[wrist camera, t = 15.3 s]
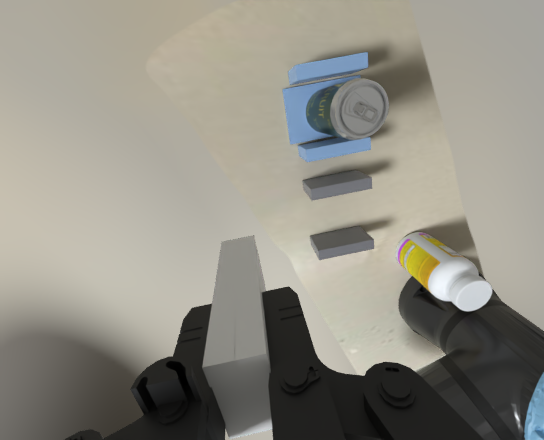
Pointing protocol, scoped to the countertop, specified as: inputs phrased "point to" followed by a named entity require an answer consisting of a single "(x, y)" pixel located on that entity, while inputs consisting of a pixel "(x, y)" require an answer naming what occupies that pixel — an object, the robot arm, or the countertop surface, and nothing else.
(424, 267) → the supplement bottle
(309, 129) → the blue bezel pad
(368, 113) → the beer can
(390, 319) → the countertop surface
